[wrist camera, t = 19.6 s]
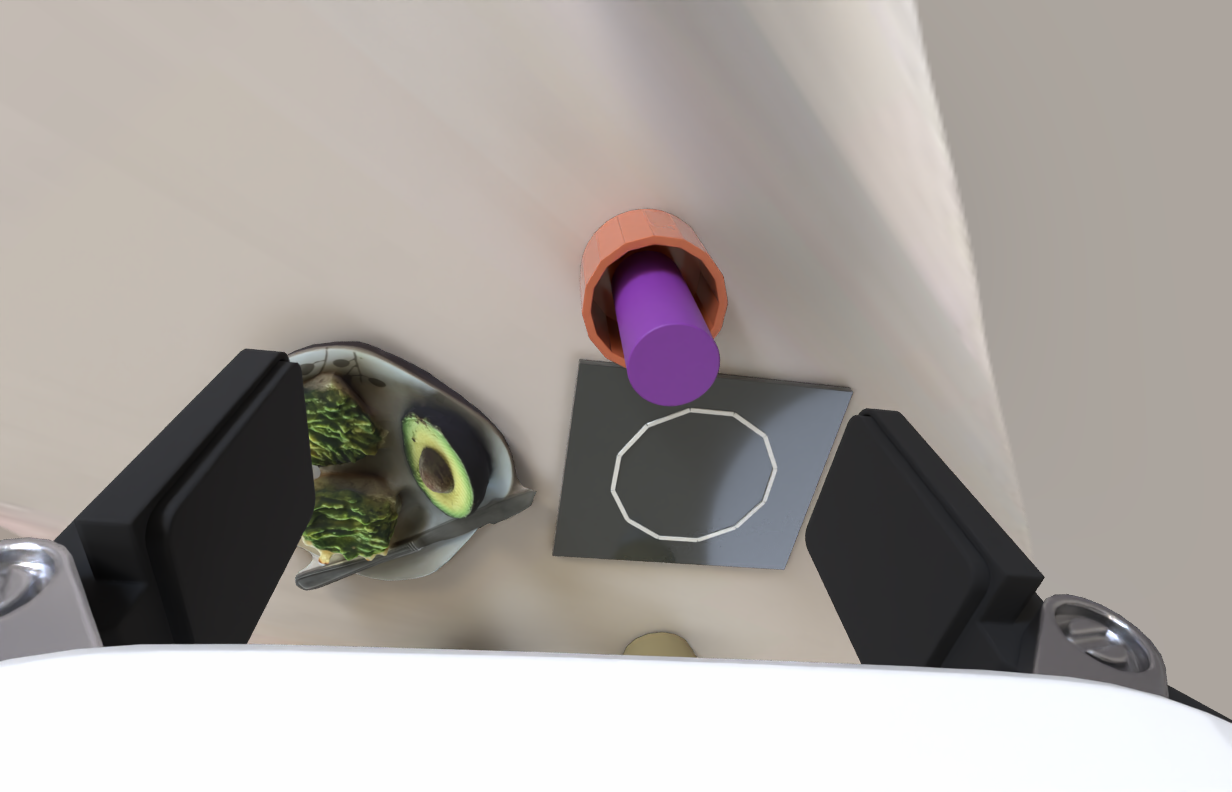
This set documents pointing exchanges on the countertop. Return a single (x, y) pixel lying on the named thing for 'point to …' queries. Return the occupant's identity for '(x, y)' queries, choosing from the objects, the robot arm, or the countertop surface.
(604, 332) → the pen pot
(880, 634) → the robot arm
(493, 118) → the countertop surface
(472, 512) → the salad plate
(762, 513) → the slate board
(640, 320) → the cylinder
